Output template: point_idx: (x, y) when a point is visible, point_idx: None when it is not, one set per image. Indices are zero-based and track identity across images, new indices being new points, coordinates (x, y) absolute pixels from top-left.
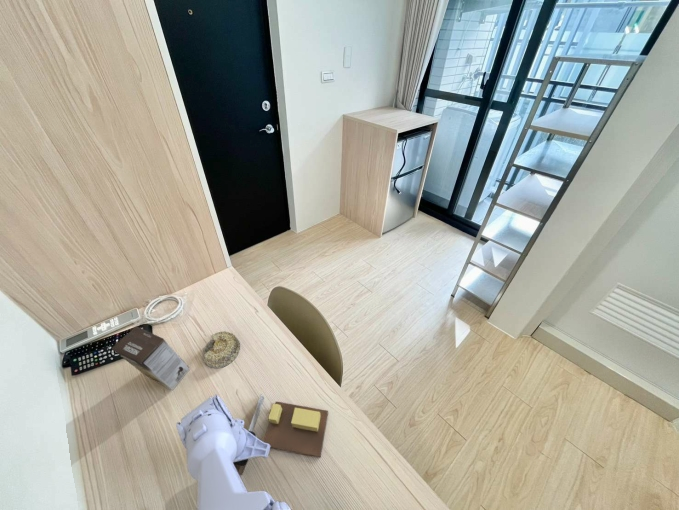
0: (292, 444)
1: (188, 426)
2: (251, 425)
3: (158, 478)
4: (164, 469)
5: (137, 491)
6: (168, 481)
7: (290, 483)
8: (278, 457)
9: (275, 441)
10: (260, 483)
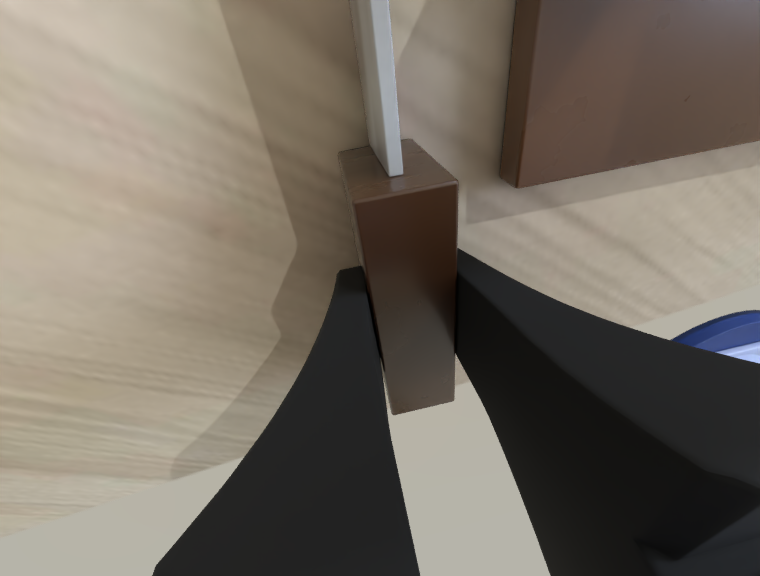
0: (755, 98)
1: None
2: (395, 93)
3: (36, 468)
4: (15, 449)
5: (12, 508)
6: (95, 456)
7: (668, 267)
8: (608, 197)
9: (617, 127)
10: None
